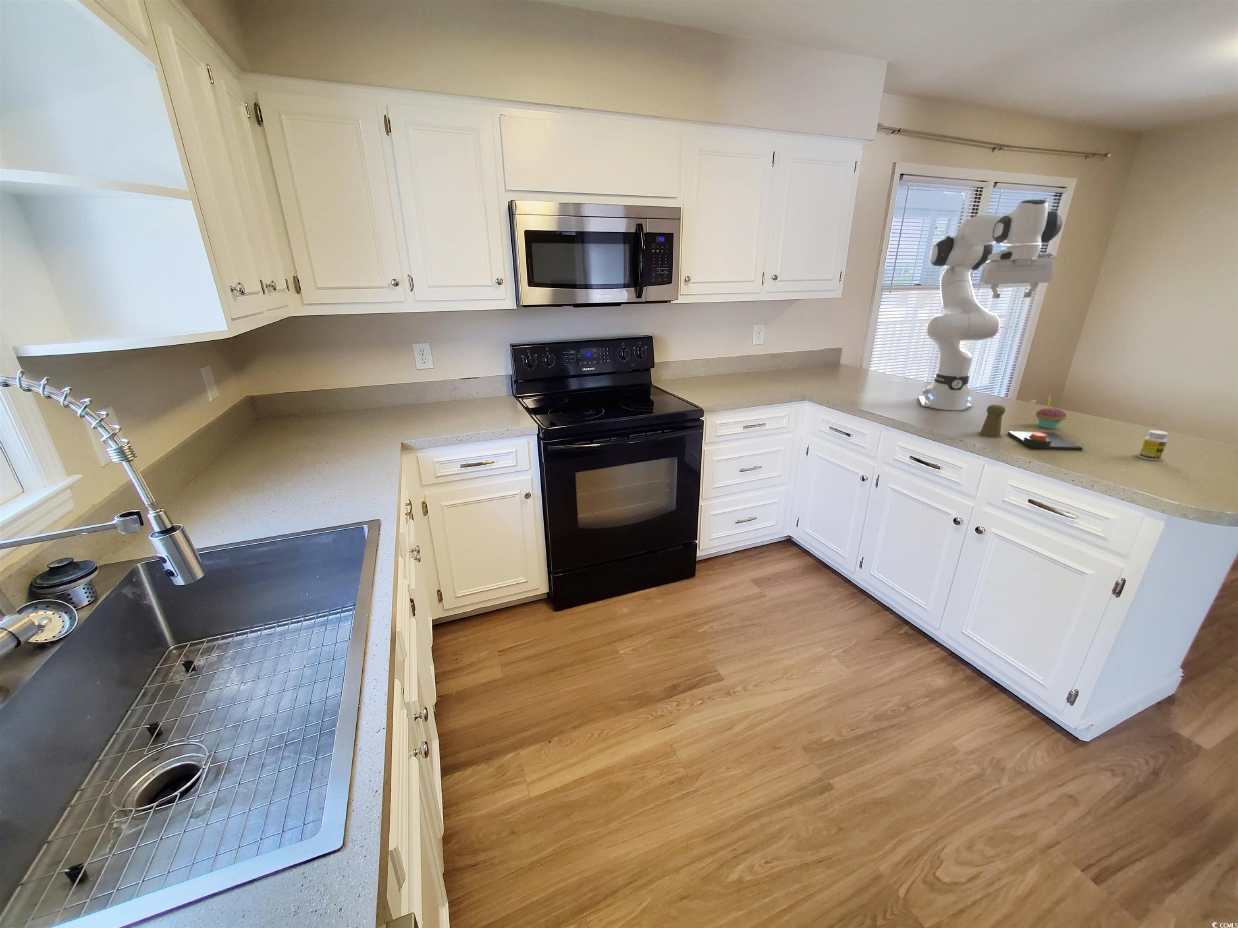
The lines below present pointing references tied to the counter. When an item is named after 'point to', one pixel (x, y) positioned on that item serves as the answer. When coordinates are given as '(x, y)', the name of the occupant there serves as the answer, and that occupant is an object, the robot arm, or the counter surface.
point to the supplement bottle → (1153, 445)
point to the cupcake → (1050, 416)
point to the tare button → (1038, 436)
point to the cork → (993, 421)
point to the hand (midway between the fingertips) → (1011, 298)
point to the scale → (1045, 441)
